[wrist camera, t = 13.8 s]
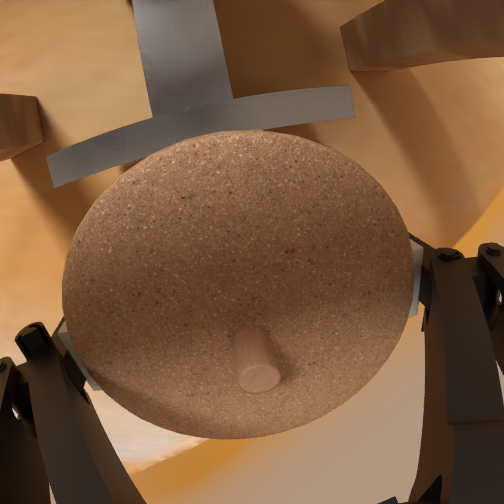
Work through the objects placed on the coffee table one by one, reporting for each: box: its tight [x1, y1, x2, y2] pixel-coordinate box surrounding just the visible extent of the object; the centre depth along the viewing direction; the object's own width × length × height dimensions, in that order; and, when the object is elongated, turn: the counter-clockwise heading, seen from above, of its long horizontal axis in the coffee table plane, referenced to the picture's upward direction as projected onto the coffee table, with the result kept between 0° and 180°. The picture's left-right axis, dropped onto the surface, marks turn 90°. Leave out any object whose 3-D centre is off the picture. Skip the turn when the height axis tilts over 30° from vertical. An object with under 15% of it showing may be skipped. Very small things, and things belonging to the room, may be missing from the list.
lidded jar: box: [62, 130, 415, 439], centre depth 11 cm, size 11×11×9 cm
